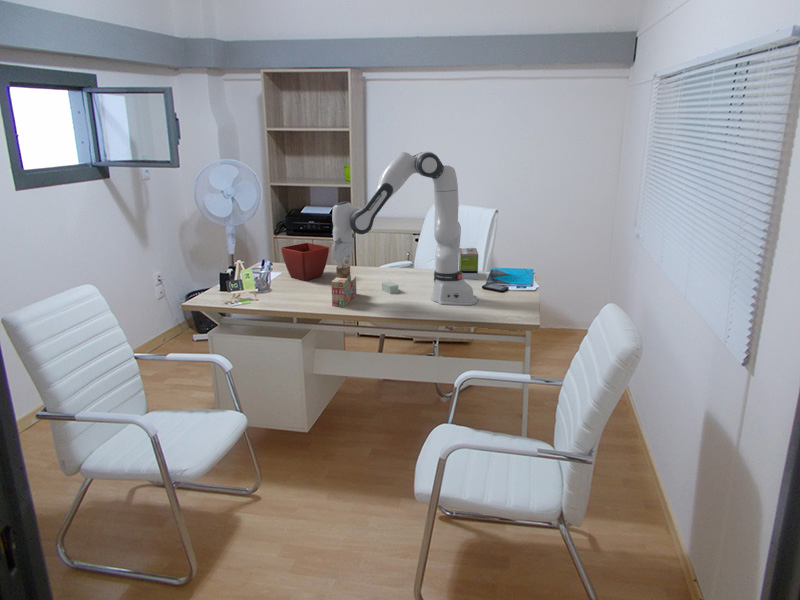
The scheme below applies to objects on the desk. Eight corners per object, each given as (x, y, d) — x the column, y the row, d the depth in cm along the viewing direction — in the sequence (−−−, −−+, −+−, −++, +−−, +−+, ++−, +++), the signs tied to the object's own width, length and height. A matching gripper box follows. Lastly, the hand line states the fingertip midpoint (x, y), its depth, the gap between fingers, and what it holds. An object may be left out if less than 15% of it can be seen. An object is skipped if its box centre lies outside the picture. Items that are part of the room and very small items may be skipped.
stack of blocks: (344, 293, 297) (343, 269, 294) (356, 294, 296) (356, 270, 292) (332, 306, 277) (331, 281, 274) (344, 307, 276) (344, 281, 272)
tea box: (458, 272, 338) (458, 247, 333) (475, 273, 337) (476, 247, 333) (459, 279, 323) (460, 253, 319) (477, 280, 323) (479, 253, 318)
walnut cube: (350, 275, 284) (350, 265, 282) (346, 278, 279) (346, 267, 277) (340, 274, 285) (340, 264, 283) (336, 277, 280) (336, 267, 279)
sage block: (390, 288, 306) (390, 281, 305) (398, 292, 299) (398, 285, 298) (381, 290, 303) (381, 282, 302) (389, 294, 297) (389, 286, 296)
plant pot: (308, 270, 340) (307, 242, 335) (331, 276, 328) (330, 246, 323) (281, 277, 326) (280, 247, 321) (304, 283, 314) (303, 252, 309)
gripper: (341, 241, 265) (342, 271, 269) (355, 233, 284) (356, 261, 288) (328, 240, 267) (329, 270, 271) (343, 232, 286) (344, 260, 290)
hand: (343, 265), depth 280 cm, fingers open, 8 cm apart
